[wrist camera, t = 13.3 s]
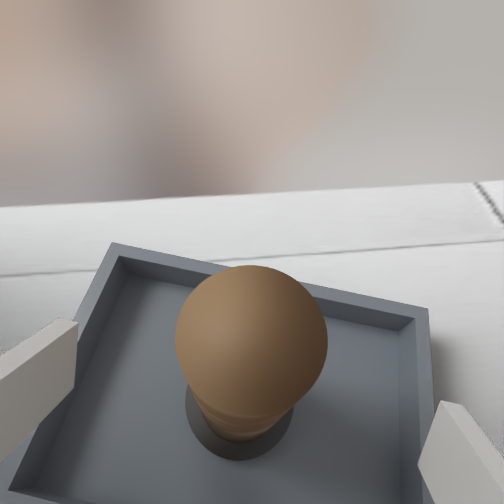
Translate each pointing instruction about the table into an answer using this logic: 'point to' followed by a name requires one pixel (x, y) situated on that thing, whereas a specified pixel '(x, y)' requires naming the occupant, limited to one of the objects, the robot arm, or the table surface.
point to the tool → (248, 357)
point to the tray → (175, 419)
